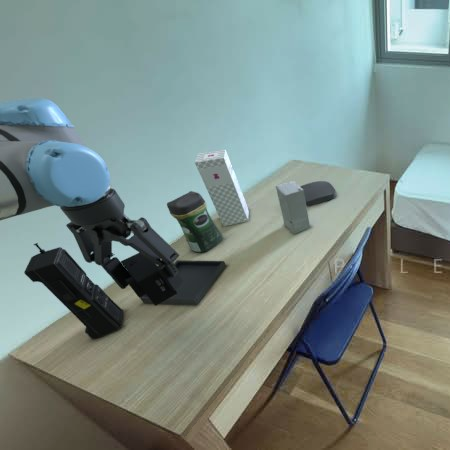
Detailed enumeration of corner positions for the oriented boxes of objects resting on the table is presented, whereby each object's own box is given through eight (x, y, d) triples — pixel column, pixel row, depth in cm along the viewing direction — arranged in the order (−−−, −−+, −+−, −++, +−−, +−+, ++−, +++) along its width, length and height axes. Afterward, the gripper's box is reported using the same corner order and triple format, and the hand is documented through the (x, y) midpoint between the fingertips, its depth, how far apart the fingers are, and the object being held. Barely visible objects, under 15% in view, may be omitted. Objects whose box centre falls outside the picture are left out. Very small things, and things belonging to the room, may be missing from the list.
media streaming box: (303, 208, 120) (302, 201, 119) (294, 193, 131) (292, 186, 129) (338, 197, 126) (337, 191, 124) (327, 184, 137) (326, 178, 135)
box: (225, 214, 119) (198, 153, 104) (248, 209, 121) (225, 149, 107) (223, 226, 112) (194, 162, 98) (248, 220, 115) (223, 157, 100)
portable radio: (123, 331, 76) (53, 254, 62) (92, 343, 73) (11, 266, 59) (124, 310, 81) (61, 235, 67) (96, 321, 79) (23, 246, 64)
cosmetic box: (284, 225, 112) (272, 186, 102) (302, 217, 115) (292, 179, 106) (294, 235, 106) (282, 195, 97) (313, 226, 110) (303, 187, 101)
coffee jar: (211, 233, 109) (188, 187, 98) (227, 238, 106) (205, 191, 95) (186, 250, 102) (158, 201, 91) (202, 255, 99) (176, 206, 88)
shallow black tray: (197, 305, 82) (193, 299, 81) (143, 303, 83) (139, 298, 82) (226, 266, 94) (224, 260, 93) (180, 265, 96) (177, 260, 94)
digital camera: (131, 287, 67) (113, 263, 63) (158, 273, 71) (143, 249, 67) (148, 310, 62) (130, 286, 58) (177, 293, 66) (161, 269, 61)
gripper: (165, 185, 55) (214, 273, 68) (47, 185, 57) (117, 270, 70) (132, 208, 49) (192, 300, 61) (2, 207, 51) (87, 296, 64)
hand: (152, 284), depth 66 cm, fingers closed on digital camera, 11 cm apart
